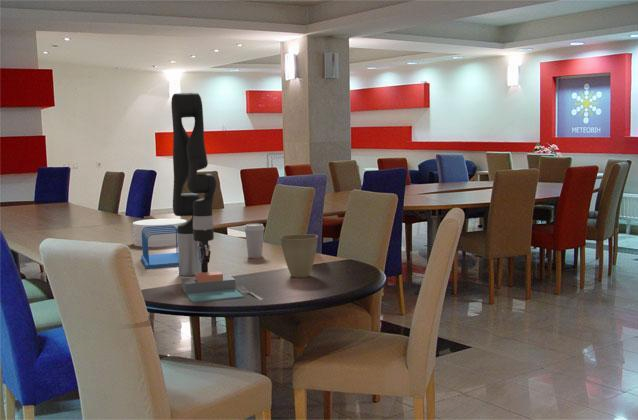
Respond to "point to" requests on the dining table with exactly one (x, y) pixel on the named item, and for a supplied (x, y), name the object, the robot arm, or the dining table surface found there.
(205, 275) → the tile
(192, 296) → the mat
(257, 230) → the coffee cup
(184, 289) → the panel
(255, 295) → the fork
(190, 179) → the robot arm
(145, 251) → the file sorter
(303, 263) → the plant pot
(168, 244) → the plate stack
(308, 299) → the dining table surface
